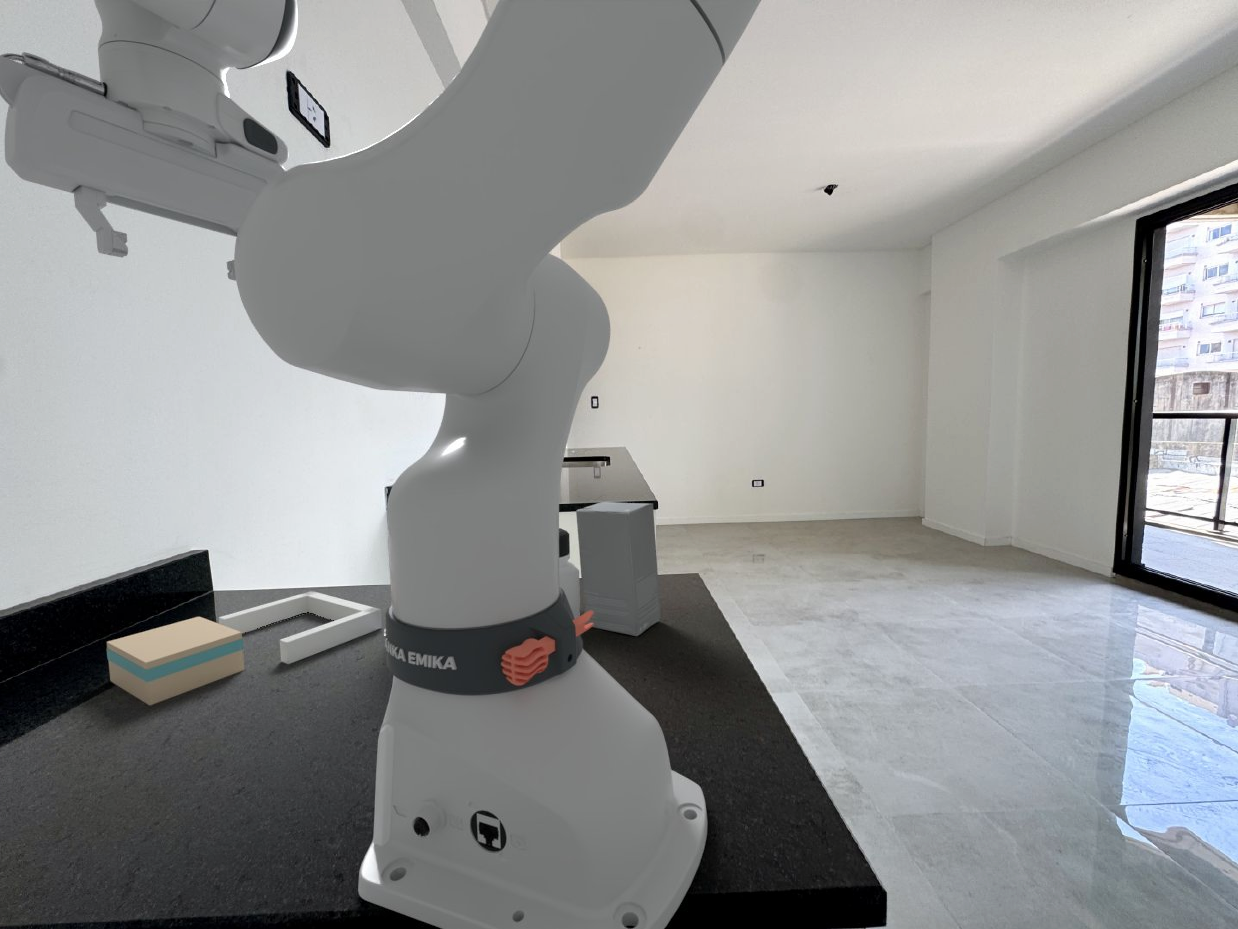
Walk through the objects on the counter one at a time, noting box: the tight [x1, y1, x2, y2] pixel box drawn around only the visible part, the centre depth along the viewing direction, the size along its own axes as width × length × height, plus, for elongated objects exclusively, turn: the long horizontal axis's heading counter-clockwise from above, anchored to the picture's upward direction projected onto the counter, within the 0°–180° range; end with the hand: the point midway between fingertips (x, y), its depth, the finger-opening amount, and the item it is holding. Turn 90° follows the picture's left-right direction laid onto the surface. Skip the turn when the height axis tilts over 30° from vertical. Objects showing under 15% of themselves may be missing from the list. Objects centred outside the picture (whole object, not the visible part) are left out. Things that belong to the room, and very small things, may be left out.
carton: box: [105, 616, 245, 706], centre depth 54 cm, size 10×8×4 cm
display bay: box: [218, 590, 382, 665], centre depth 66 cm, size 16×12×2 cm
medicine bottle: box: [559, 527, 581, 619], centre depth 69 cm, size 7×7×12 cm
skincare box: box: [575, 501, 662, 637], centre depth 66 cm, size 8×7×16 cm
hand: (182, 268), depth 47 cm, fingers open, 8 cm apart
